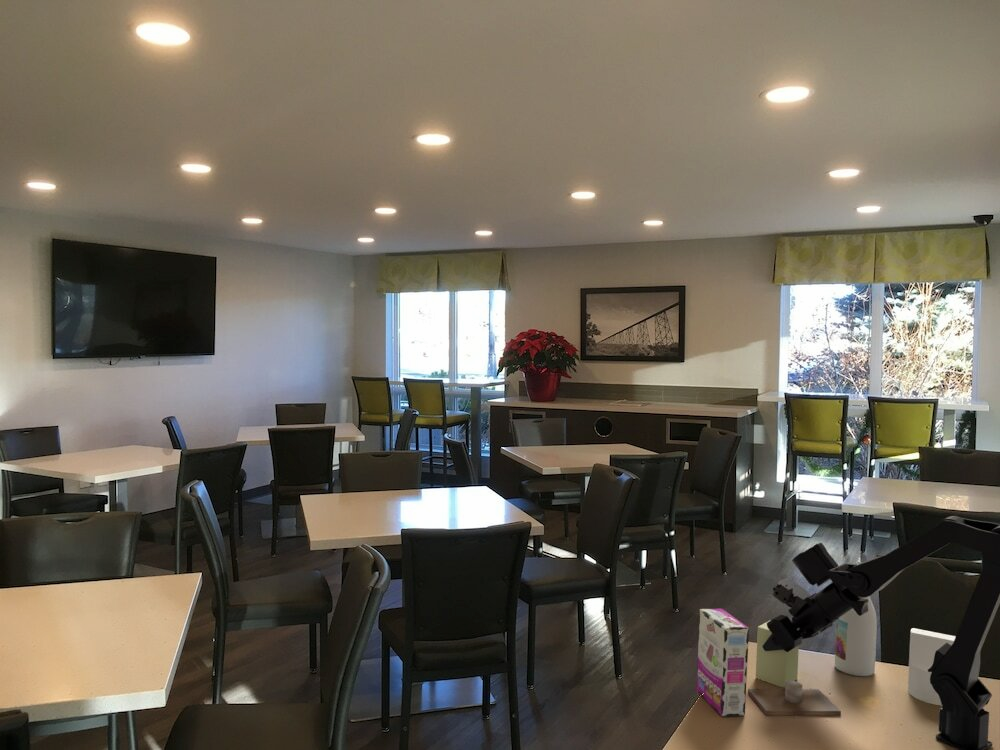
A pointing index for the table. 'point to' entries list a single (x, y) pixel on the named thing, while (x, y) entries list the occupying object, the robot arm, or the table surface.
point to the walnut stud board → (787, 708)
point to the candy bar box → (722, 661)
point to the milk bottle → (856, 642)
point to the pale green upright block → (775, 661)
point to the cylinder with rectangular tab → (924, 663)
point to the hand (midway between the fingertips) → (771, 644)
